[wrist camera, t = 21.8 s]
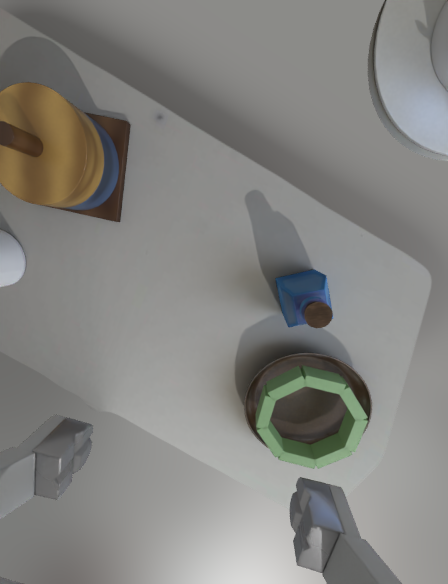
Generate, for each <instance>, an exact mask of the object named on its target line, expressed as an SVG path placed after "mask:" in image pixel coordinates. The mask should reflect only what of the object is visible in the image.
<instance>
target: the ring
mask: <svg viewBox="0 0 448 584" xmlns="http://www.w3.org/2000/svg"><path fill="white" fill-rule="evenodd" d="M266 383H267V385H264V386H263V390H262V393H261V397H260V400H259V404H258V407H257V411H256V427H257V432H258V433H259V435H260V436H261V437H262V439H263V440H264V442H265V443H266V445H267V446H268V448H269V449H270V450H271V452H272V453H273V455H274V456H275V458H276V457H278V459H279V460H282V461H286V462H290V463H293V464H297V465H301V466H305V467H309V468H313V469H314V468H315V466H317V468H318V469H319V468H321V467H323V466H326V465H328V464H331V463H333V462H336V461H338V460H341V459H343V458H345V457H348V456H350V455H352V453H351V451H352V452H355V451H356V449H357V446H358V444H359V442H360V439H361V437H362V434H363V432H364V430H365V427H366V425H367V422H368V420H367V419H366V418H368V417H367V415H366V414H365V412H364V410H363V409H362V407H361V405H360V404H359V402H358V400H357V399H356V397H355V396H354V394H353V392H352V391H351V389H350V387H349V386H348V384H347V383H346V381H345V380H344V378H343V377H342V376H341V377H340V375H339V374H337V373H333V372H329V371H324V370H320V369H316V368H312V367H308V366H304V365H302V367H301V369H300V367H299V366H297V367H295V368H293V369H291V370H289V371H287V372H285V373H283V374H281V375H279V376H277V377H275V378H273V379H271V380H269V381H267V382H266ZM305 386H307V387H311V388H315V389H319V390H323V391H327V392H332V393H336V394H339V395H340V396H341V398H342V400H343V401H344V403H345V404H346V406H347V411H346V413H345V416H344V419H343V421H342V424H341V426H340V429H339V431H338V433H336V434H334V435H332V436H330V437H327V438H325V439H323V440H320V441H318V442H316V443H313V444H311V445H310V444H306V443H302V442H298V441H294V440H290V439H286V438H282V437H281V436H280V434H279V433H278V431H277V430H276V428H275V427H274V426H273V424H272V423H271V421H270V418H271V415H272V412H273V408H274V405H275V402H276V400H278V399H280V398H282V397H284V396H286V395H289V394H291V393H293V392H295V391H297V390H299V389H301V388H303V387H305Z"/></svg>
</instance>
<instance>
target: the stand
mask: <svg viewBox="0 0 448 584" xmlns="http://www.w3.org/2000/svg"><path fill="white" fill-rule="evenodd" d="M129 134H130V124H129V123H128V122H127V121H124V120H119V119H114V118H109V117H104V116H99V115H94V114H90V113H85V112H83V111H81V110H80V109H78V108H77V107H76V106H74V105H73V104H72V103H70V102H69V101H68V100H66V99H65V98H64V97H62V96H61V95H60V94H58V93H57V92H55V91H54V90H52V89H51V88H48V87H46V86H44V85H41V84H37V83H30V82H25V83H18V84H14V85H11V86H9V87H7V88H6V89H4V90H2V91H1V92H0V183H1V184H2V185H3V186H4V187H5V188H6V189H7V190H8V191H9V192H11V193H12V194H13V195H15V196H16V197H18V198H20V199H21V200H24V201H26V202H29V203H32V204H38V205H43V206H48V207H52V208H57V209H61V210H66V211H70V212H75V213H79V214H84V215H88V216H93V217H97V218H102V219H106V220H111V221H115V222H120V218H121V208H122V199H123V190H124V180H125V171H126V162H127V153H128V143H129Z"/></svg>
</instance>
